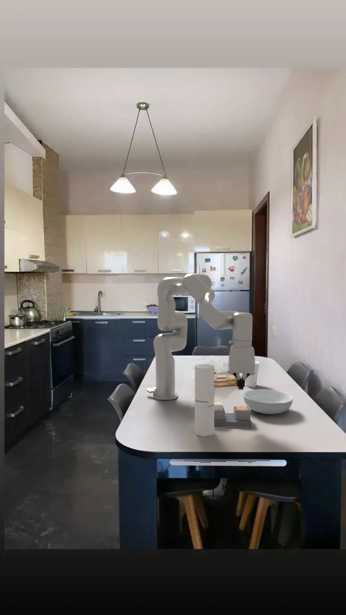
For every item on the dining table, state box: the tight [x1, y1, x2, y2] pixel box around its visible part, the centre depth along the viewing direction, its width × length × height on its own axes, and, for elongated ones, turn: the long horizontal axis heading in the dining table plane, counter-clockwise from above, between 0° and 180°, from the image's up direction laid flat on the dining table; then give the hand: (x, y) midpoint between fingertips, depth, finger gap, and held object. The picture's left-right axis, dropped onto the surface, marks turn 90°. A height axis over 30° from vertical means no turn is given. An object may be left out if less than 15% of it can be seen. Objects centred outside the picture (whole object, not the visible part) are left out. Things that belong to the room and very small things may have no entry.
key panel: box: [214, 405, 253, 428], centre depth 146 cm, size 16×10×6 cm, turn 88°
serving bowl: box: [243, 388, 294, 415], centre depth 159 cm, size 21×21×7 cm
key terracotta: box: [235, 405, 249, 411], centre depth 145 cm, size 4×4×3 cm
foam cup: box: [245, 360, 260, 388], centre depth 201 cm, size 10×9×13 cm
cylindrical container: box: [194, 363, 215, 437], centre depth 135 cm, size 7×7×25 cm
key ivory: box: [214, 401, 224, 411], centre depth 146 cm, size 4×4×3 cm
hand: (240, 388), depth 145 cm, fingers closed
